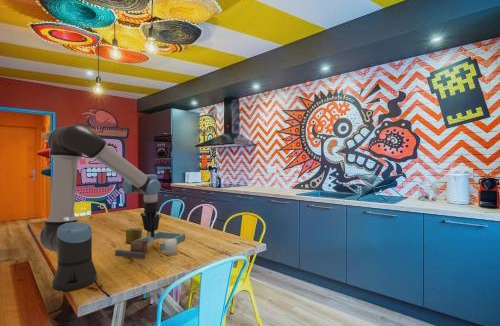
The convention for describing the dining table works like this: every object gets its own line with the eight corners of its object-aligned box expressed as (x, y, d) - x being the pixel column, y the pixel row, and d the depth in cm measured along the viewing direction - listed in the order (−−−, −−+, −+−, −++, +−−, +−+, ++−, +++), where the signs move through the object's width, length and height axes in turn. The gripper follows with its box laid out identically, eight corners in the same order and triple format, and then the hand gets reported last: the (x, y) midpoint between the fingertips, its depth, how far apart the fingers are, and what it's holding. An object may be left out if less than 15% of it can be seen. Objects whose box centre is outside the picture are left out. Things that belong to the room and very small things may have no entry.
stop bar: (142, 259, 135) (142, 254, 135) (115, 255, 141) (115, 250, 141) (145, 257, 136) (145, 253, 136) (118, 253, 143) (118, 249, 143)
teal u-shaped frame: (161, 250, 147) (161, 244, 147) (134, 247, 154) (134, 240, 154) (184, 239, 168) (184, 233, 168) (159, 236, 175) (159, 231, 175)
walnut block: (139, 255, 141) (139, 243, 141) (130, 253, 143) (130, 242, 143) (147, 251, 146) (147, 240, 146) (138, 250, 149) (138, 239, 149)
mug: (137, 241, 158) (134, 225, 160) (122, 246, 160) (120, 229, 162) (150, 240, 169) (147, 224, 172) (136, 244, 171) (134, 228, 174)
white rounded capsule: (172, 255, 139) (171, 242, 139) (162, 254, 141) (162, 241, 141) (178, 252, 145) (178, 239, 145) (169, 250, 147) (169, 238, 147)
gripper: (164, 201, 155) (164, 242, 155) (146, 200, 159) (146, 239, 159) (155, 202, 148) (155, 245, 148) (136, 201, 152) (137, 243, 152)
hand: (150, 242), depth 153 cm, fingers closed
